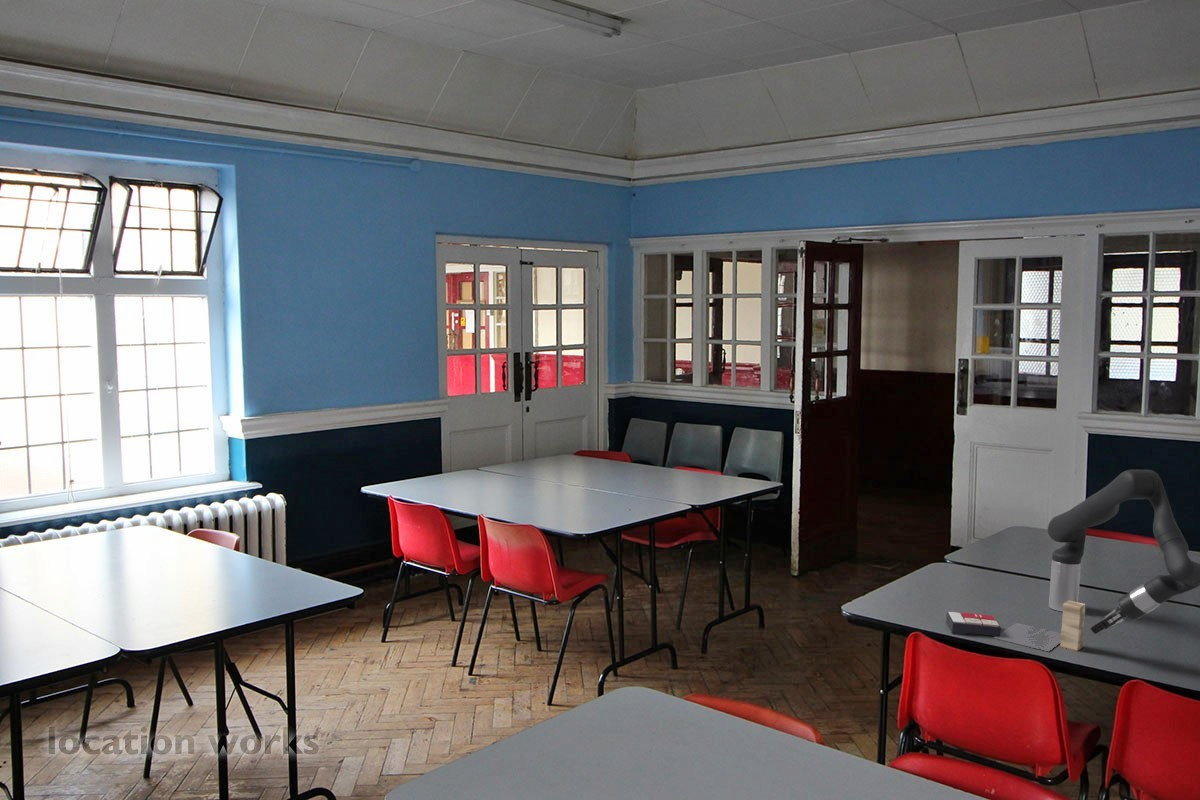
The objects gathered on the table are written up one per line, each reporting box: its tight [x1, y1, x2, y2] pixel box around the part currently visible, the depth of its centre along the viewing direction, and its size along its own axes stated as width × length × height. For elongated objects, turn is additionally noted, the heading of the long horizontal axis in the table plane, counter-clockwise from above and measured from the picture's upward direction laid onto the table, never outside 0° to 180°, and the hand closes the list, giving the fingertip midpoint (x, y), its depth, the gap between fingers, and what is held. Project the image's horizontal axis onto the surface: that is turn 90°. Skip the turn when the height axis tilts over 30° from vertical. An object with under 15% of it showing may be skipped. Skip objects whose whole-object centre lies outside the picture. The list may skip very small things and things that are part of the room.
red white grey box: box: [945, 611, 1002, 637], centre depth 320 cm, size 11×4×15 cm
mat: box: [993, 622, 1061, 653], centre depth 315 cm, size 20×17×1 cm
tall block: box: [1059, 600, 1086, 652], centre depth 306 cm, size 5×5×14 cm
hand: (1093, 630), depth 302 cm, fingers closed
